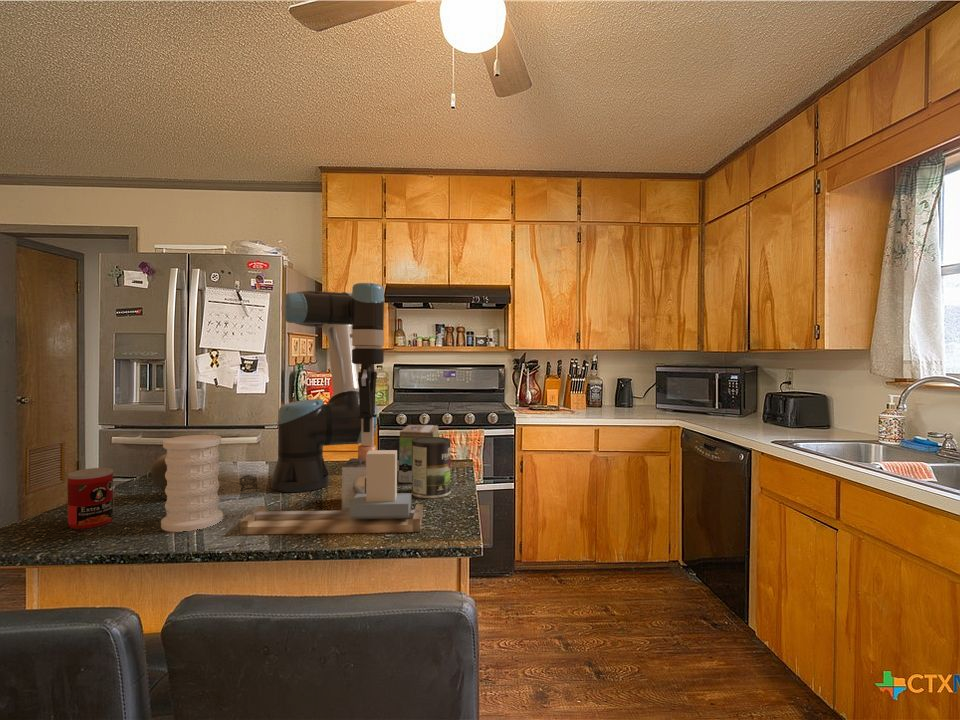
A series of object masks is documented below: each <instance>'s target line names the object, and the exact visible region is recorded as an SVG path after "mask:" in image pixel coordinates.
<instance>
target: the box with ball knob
mask: <svg viewBox="0 0 960 720" xmlns="http://www.w3.org/2000/svg"><path fill="white" fill-rule="evenodd" d="M356 494H366V464H364V460H358V457H357V458H355V457H354V458H349V460H348V461H346V463H345V464H344V465H342V467H341V511H343V510H350V503H351V502H352V500H353V499H354V497H355V496H356Z"/></svg>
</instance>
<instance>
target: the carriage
mask: <svg viewBox="0 0 960 720" xmlns="http://www.w3.org/2000/svg"><path fill="white" fill-rule="evenodd" d="M410 510H412V492H411V493H410V492H408V493H407V492H400V493H399V492H398V450H397V449H394V450H392V449H389V450H387V449H379V450H378V449H377V450H369V451H368V452H367V454H366V494H356V496H355V497H354V499H353V500H352V502H351V503H350V517H351V519H377V518H409V512H410Z"/></svg>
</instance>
